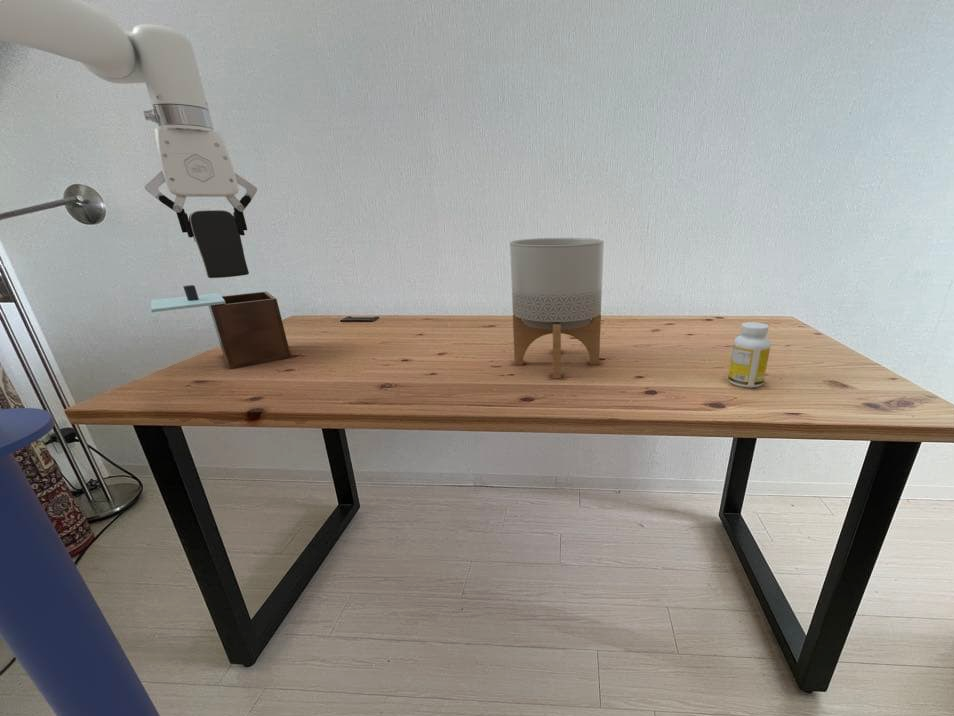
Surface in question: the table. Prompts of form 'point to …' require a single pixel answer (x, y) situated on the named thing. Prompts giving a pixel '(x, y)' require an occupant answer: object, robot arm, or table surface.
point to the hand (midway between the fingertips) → (216, 235)
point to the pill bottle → (750, 355)
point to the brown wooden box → (250, 329)
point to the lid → (187, 300)
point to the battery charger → (218, 243)
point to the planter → (556, 293)
